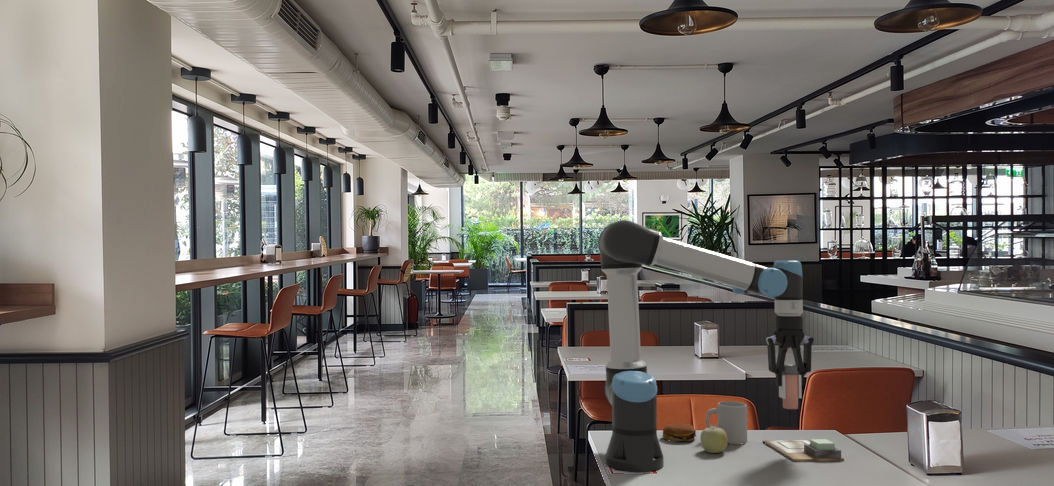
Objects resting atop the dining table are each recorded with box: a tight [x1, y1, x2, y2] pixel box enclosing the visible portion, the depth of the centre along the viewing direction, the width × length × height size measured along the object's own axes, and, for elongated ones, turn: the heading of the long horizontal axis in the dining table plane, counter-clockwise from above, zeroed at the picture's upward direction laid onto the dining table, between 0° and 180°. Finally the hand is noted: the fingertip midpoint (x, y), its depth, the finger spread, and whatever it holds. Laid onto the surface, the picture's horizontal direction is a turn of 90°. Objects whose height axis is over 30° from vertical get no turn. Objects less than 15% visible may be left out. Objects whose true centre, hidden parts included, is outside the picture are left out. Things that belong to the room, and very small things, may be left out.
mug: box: [705, 400, 748, 445], centre depth 211 cm, size 12×8×11 cm
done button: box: [809, 438, 836, 450], centre depth 193 cm, size 5×5×2 cm
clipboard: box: [762, 439, 845, 463], centre depth 199 cm, size 14×20×3 cm
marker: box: [782, 363, 799, 410], centre depth 199 cm, size 4×4×12 cm
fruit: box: [700, 423, 728, 454], centre depth 198 cm, size 8×7×8 cm
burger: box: [662, 422, 697, 442], centre depth 212 cm, size 10×9×5 cm
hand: (790, 397), depth 199 cm, fingers closed on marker, 4 cm apart
